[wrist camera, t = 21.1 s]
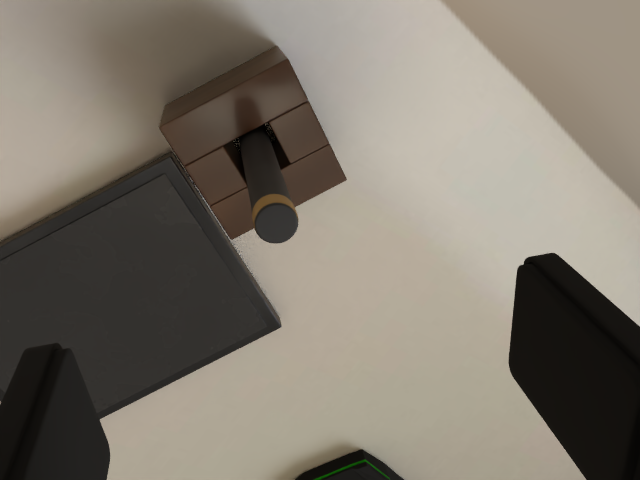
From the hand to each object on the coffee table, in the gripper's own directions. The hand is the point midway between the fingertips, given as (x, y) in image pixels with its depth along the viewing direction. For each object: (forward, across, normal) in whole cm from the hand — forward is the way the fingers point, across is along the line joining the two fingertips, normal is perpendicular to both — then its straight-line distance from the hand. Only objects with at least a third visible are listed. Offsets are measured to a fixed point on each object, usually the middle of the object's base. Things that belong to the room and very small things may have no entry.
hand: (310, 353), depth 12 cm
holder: (+19, 0, +1) cm, 19 cm away
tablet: (+19, +10, +10) cm, 23 cm away
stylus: (+19, 0, +1) cm, 19 cm away
